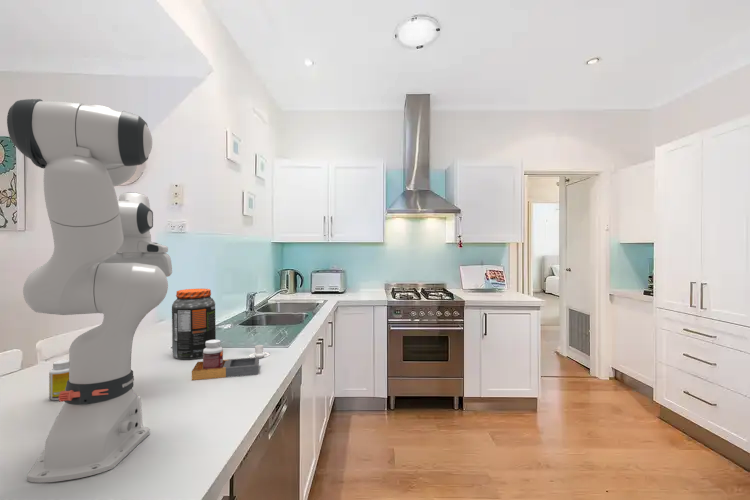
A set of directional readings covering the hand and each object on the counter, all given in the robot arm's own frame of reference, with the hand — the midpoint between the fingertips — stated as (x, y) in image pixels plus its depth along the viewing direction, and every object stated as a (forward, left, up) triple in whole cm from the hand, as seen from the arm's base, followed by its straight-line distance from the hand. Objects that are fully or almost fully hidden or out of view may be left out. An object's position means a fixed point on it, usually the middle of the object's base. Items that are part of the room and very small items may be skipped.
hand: (134, 292), depth 115 cm
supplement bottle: (-3, +17, -29) cm, 34 cm away
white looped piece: (+24, -33, -30) cm, 51 cm away
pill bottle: (+7, -21, -29) cm, 37 cm away
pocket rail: (+7, -26, -29) cm, 39 cm away
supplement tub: (+34, -11, -29) cm, 46 cm away
